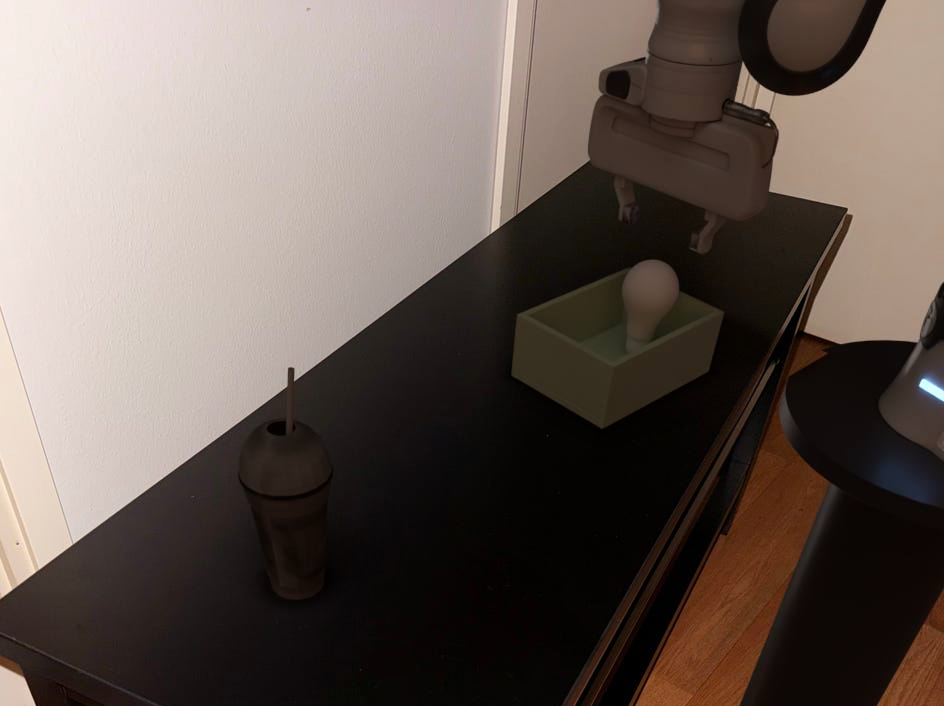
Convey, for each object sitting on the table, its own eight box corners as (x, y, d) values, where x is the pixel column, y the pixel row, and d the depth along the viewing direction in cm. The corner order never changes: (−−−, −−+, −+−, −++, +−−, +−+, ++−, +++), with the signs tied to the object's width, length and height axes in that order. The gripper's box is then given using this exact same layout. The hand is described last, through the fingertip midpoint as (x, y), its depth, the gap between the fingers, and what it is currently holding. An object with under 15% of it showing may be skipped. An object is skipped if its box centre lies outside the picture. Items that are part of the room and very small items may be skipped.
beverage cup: (242, 568, 81) (207, 358, 67) (320, 544, 84) (303, 337, 70) (273, 622, 77) (243, 410, 63) (354, 594, 80) (344, 385, 66)
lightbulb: (667, 351, 110) (691, 259, 102) (652, 375, 106) (676, 281, 98) (617, 336, 111) (638, 244, 103) (601, 359, 107) (620, 266, 99)
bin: (618, 325, 115) (629, 266, 110) (708, 371, 108) (724, 311, 103) (510, 375, 106) (516, 314, 100) (602, 429, 99) (613, 366, 94)
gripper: (803, 109, 85) (764, 260, 95) (628, 57, 95) (609, 198, 105) (762, 123, 82) (726, 278, 92) (586, 68, 92) (571, 213, 102)
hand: (663, 235), depth 98 cm, fingers open, 8 cm apart
